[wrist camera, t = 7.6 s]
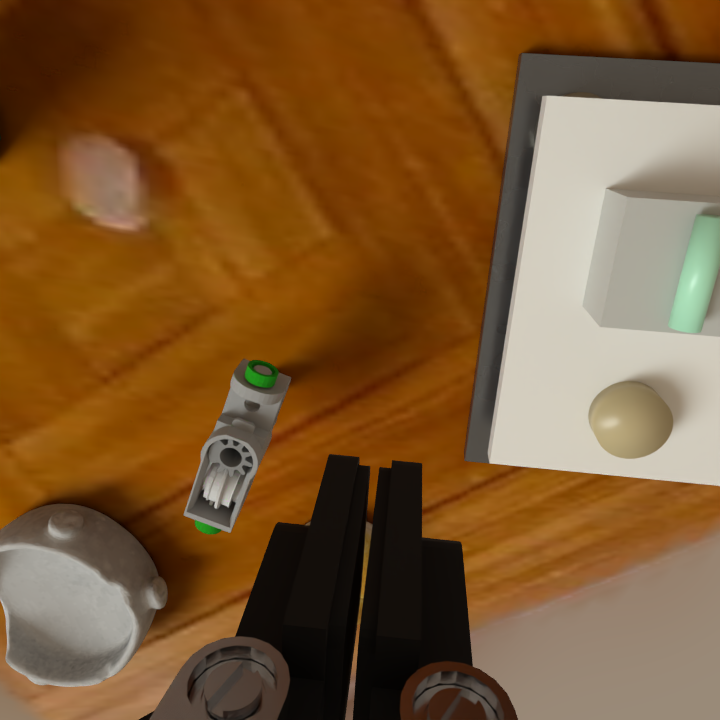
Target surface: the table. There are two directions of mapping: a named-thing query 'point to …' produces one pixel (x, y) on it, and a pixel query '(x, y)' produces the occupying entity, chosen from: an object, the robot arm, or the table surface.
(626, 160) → the levelling plate
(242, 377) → the mechanical component
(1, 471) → the table surface
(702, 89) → the dark grey rectangular slab
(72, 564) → the dish
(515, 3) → the table surface
